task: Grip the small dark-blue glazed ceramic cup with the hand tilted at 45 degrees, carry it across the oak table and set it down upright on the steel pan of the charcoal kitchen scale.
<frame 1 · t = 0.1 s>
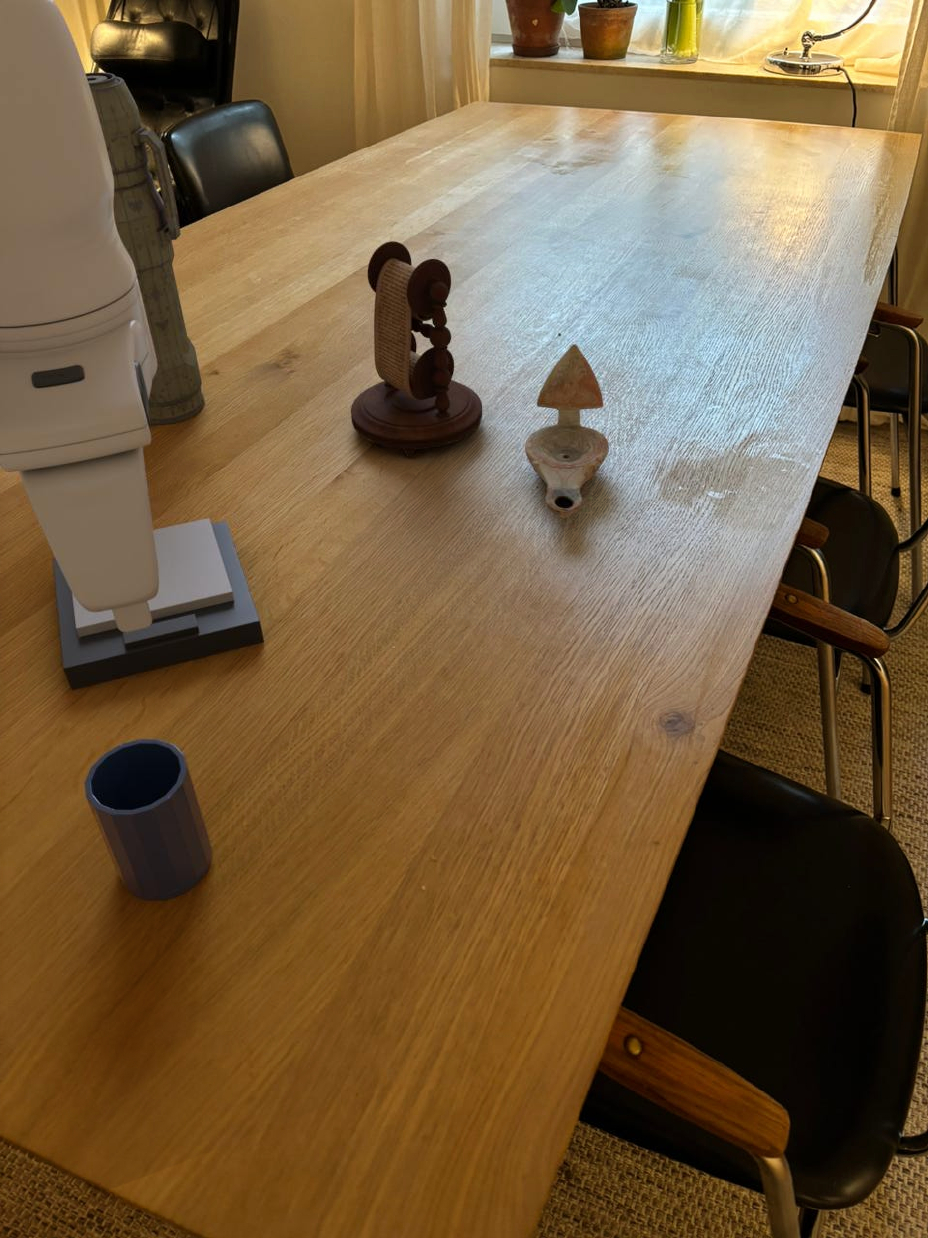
hand: (126, 572, 57), 22 cm above the table, tool pointing down, fingers open, 8 cm apart
oil lamp: (564, 478, 104), on the table
scale: (157, 608, 89), on the table
cup: (166, 861, 68), on the table
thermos: (167, 407, 118), on the table
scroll: (417, 428, 113), on the table
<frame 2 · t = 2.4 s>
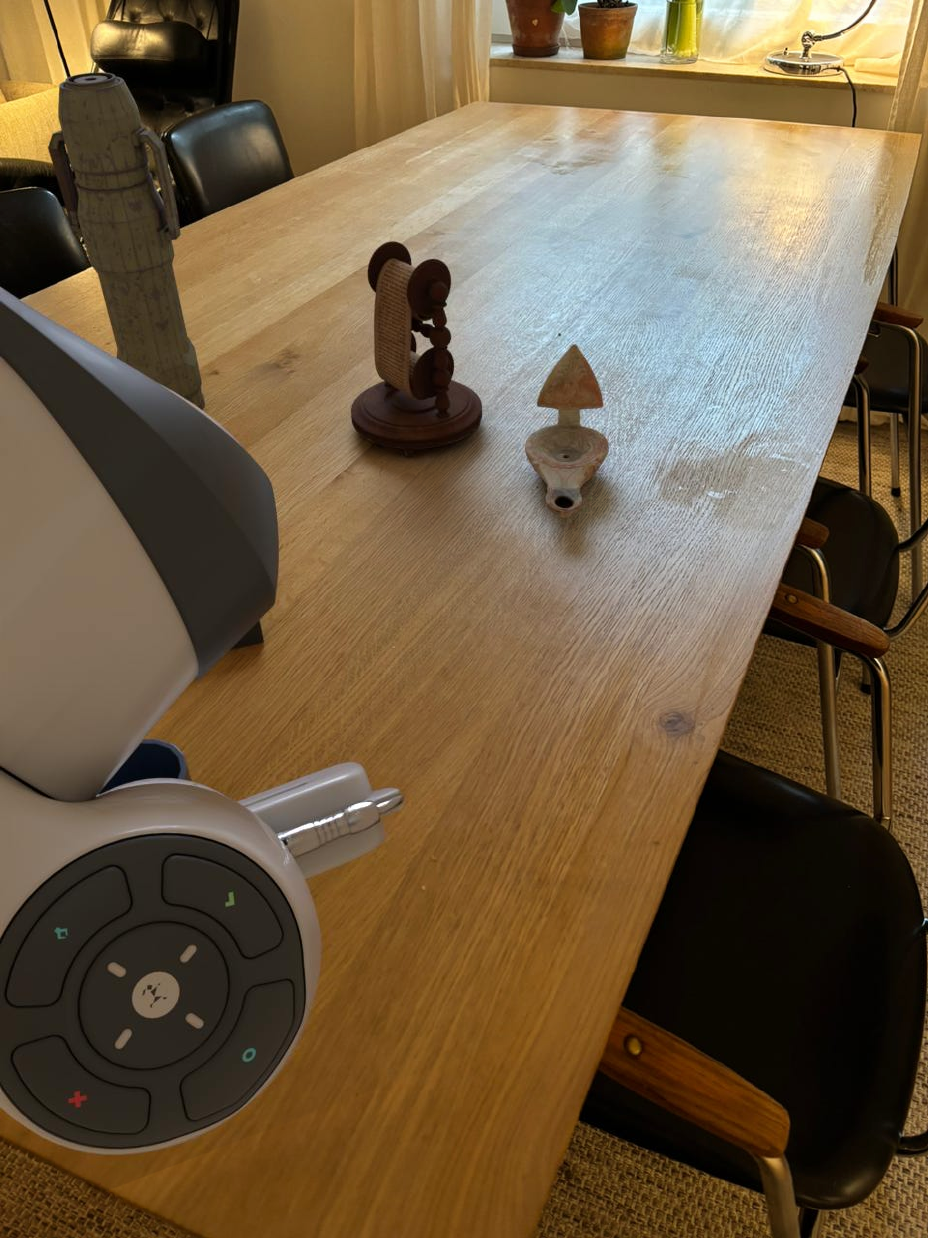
hand: (158, 862, 50), 15 cm above the table, tool tilted 45°, fingers open, 8 cm apart
nothing on the table moved.
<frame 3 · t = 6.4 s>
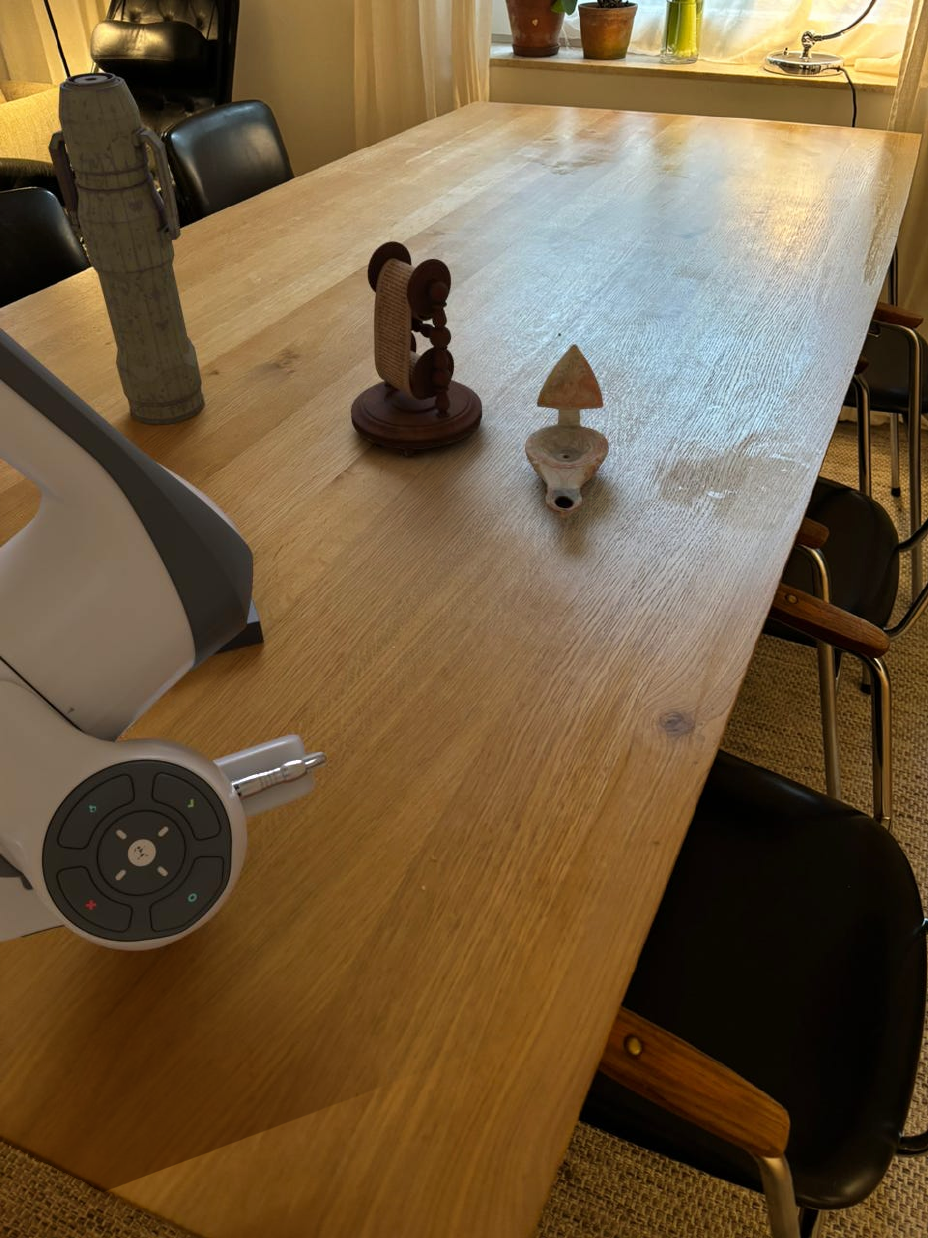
hand: (148, 809, 65), 5 cm above the table, tool tilted 45°, fingers closed on cup, 6 cm apart
cup: (166, 861, 68), on the table, touching gripper
everything else where it was.
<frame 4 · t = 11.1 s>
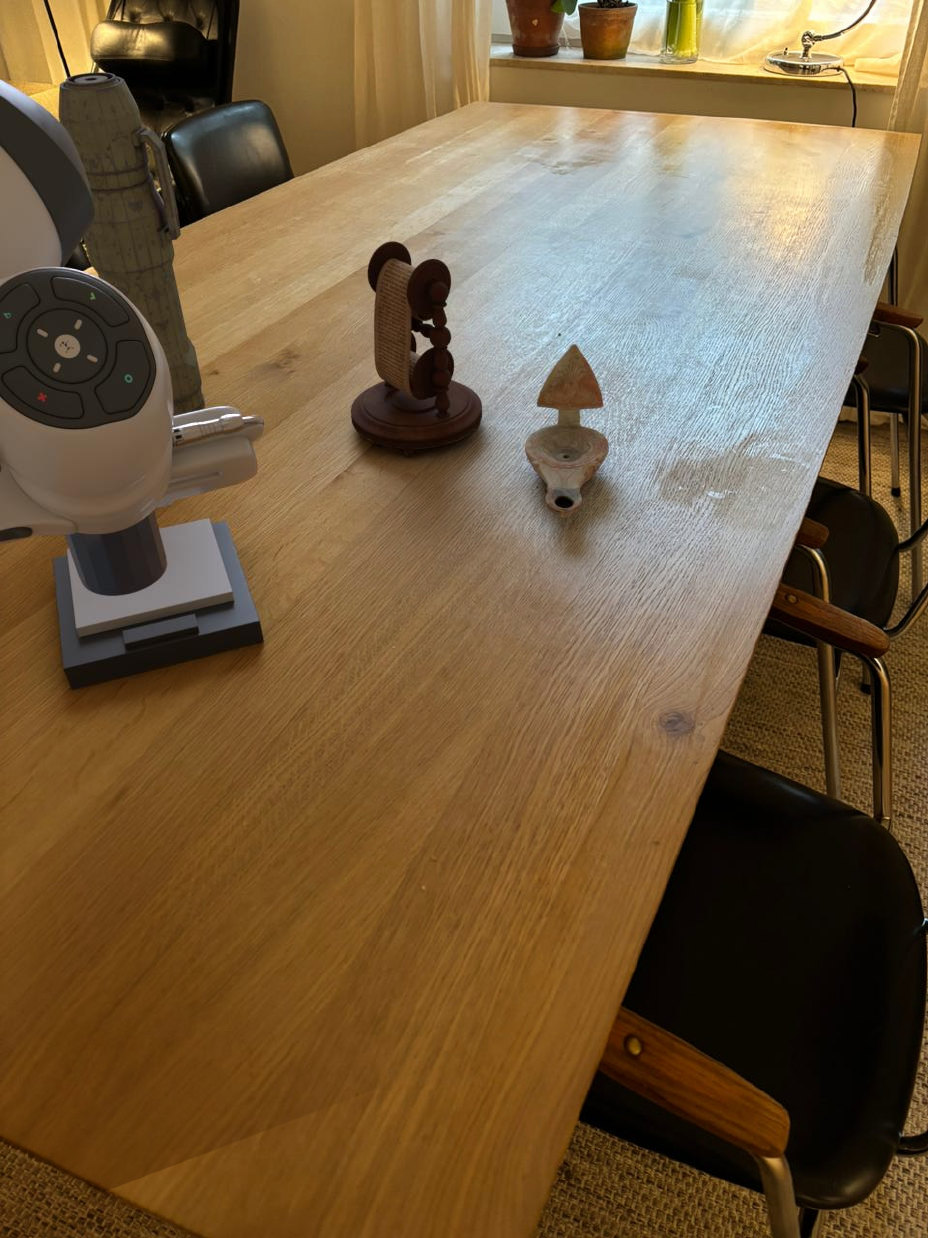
hand: (105, 509, 70), 17 cm above the table, tool tilted 45°, fingers closed on cup, 6 cm apart
cup: (124, 569, 73), point 13 cm above the table, touching gripper
everything else where it was.
when the fingers open (8 cm above the table, at t = 15.8 s): cup stays where it is, resting on scale.
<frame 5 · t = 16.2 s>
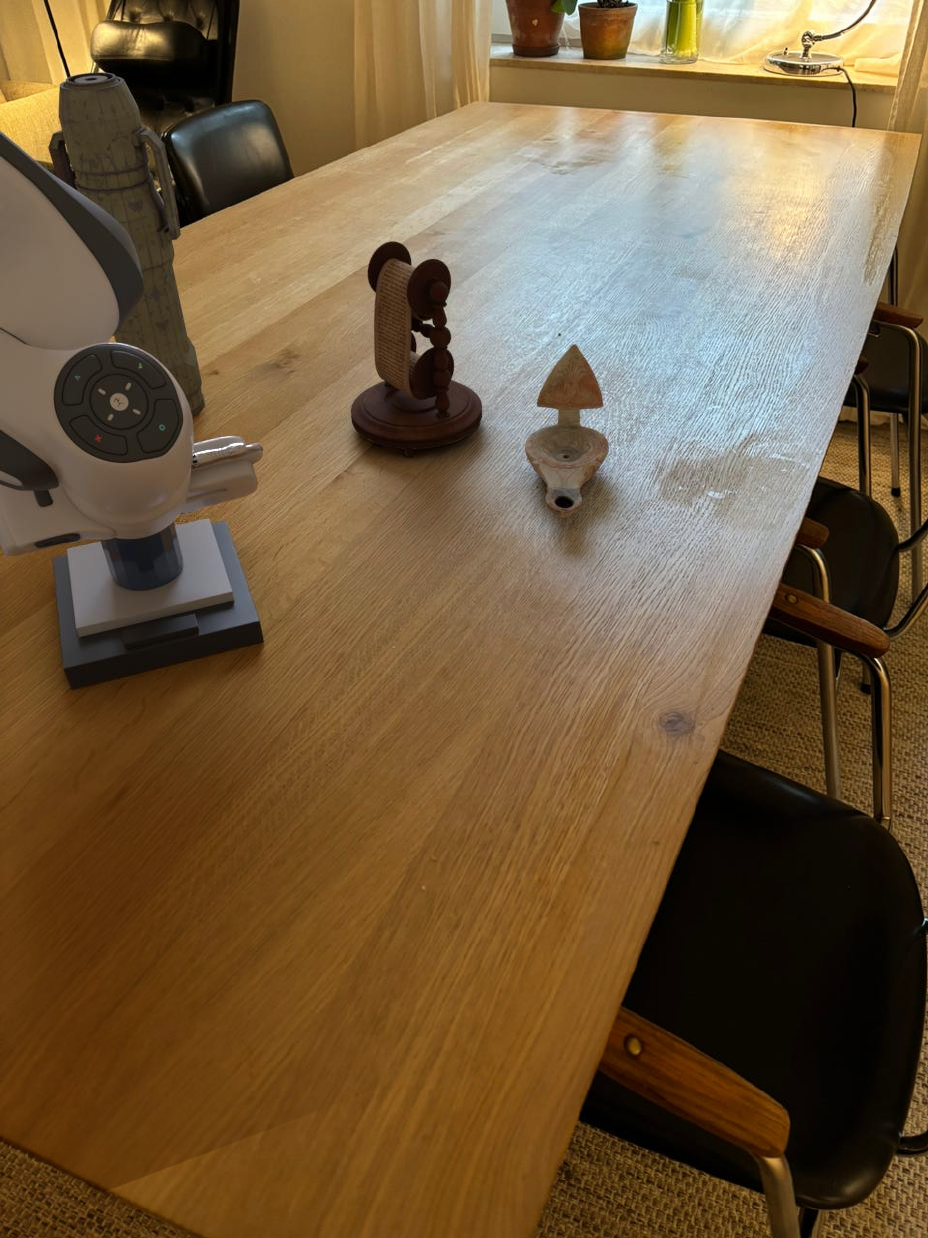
hand: (131, 518, 85), 8 cm above the table, tool tilted 45°, fingers open, 8 cm apart
cup: (148, 569, 88), point 3 cm above the table, touching scale
everything else where it was.
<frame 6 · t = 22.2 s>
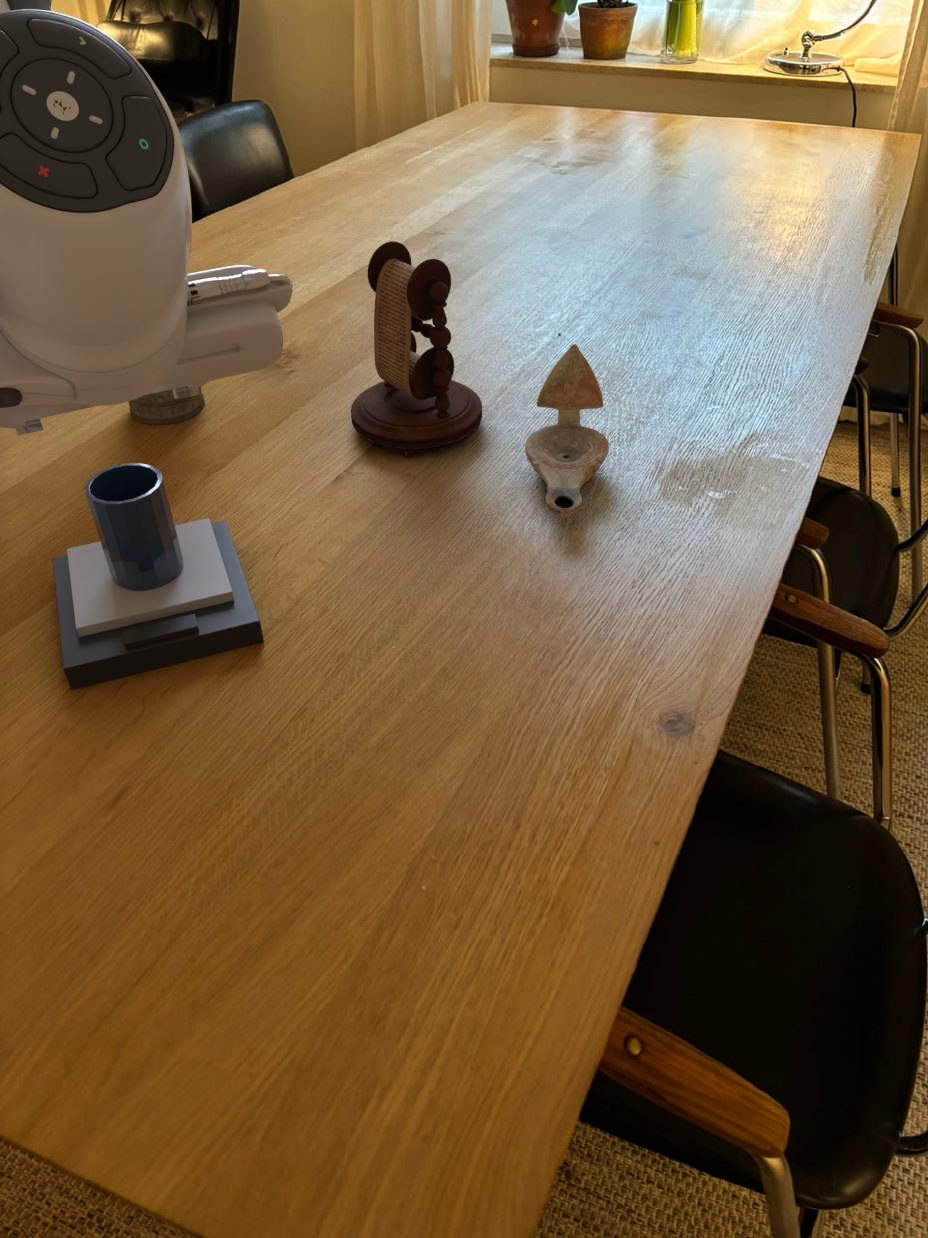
hand: (106, 403, 61), 27 cm above the table, tool tilted 45°, fingers open, 8 cm apart
nothing on the table moved.
at the end: cup inside the target area on the scale (0.1 cm from its centre), point 3.4 cm above the scale's base; cup tilted 0°; the gripper is holding nothing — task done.
